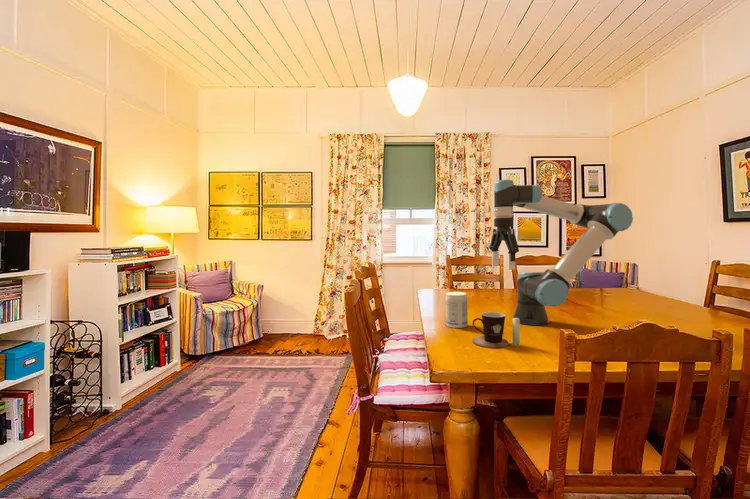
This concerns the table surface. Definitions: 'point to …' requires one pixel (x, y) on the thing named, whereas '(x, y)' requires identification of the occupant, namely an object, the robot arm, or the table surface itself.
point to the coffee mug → (492, 326)
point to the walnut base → (482, 343)
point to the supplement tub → (456, 309)
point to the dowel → (516, 331)
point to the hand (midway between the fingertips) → (503, 268)
